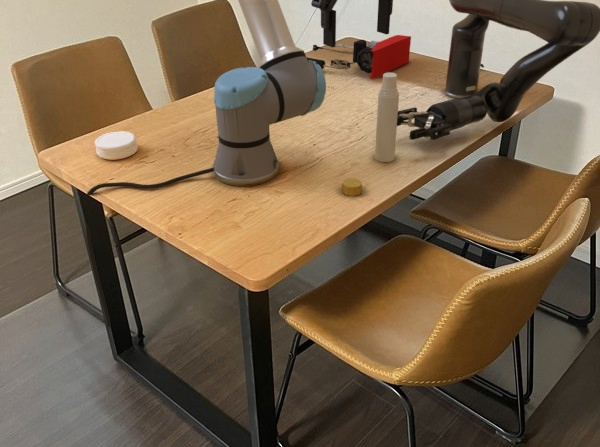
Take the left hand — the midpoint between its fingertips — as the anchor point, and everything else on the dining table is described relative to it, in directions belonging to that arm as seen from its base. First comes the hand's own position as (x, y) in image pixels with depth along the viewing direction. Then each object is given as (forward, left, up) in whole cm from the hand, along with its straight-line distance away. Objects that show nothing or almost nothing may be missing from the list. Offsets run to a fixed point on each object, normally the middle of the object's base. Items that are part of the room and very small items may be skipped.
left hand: (356, 39), depth 119 cm
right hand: (+22, +6, -27) cm, 36 cm away
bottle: (+18, +6, -34) cm, 38 cm away
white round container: (-30, +53, -34) cm, 70 cm away
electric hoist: (+61, +62, -34) cm, 94 cm away
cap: (0, 0, -32) cm, 32 cm away
